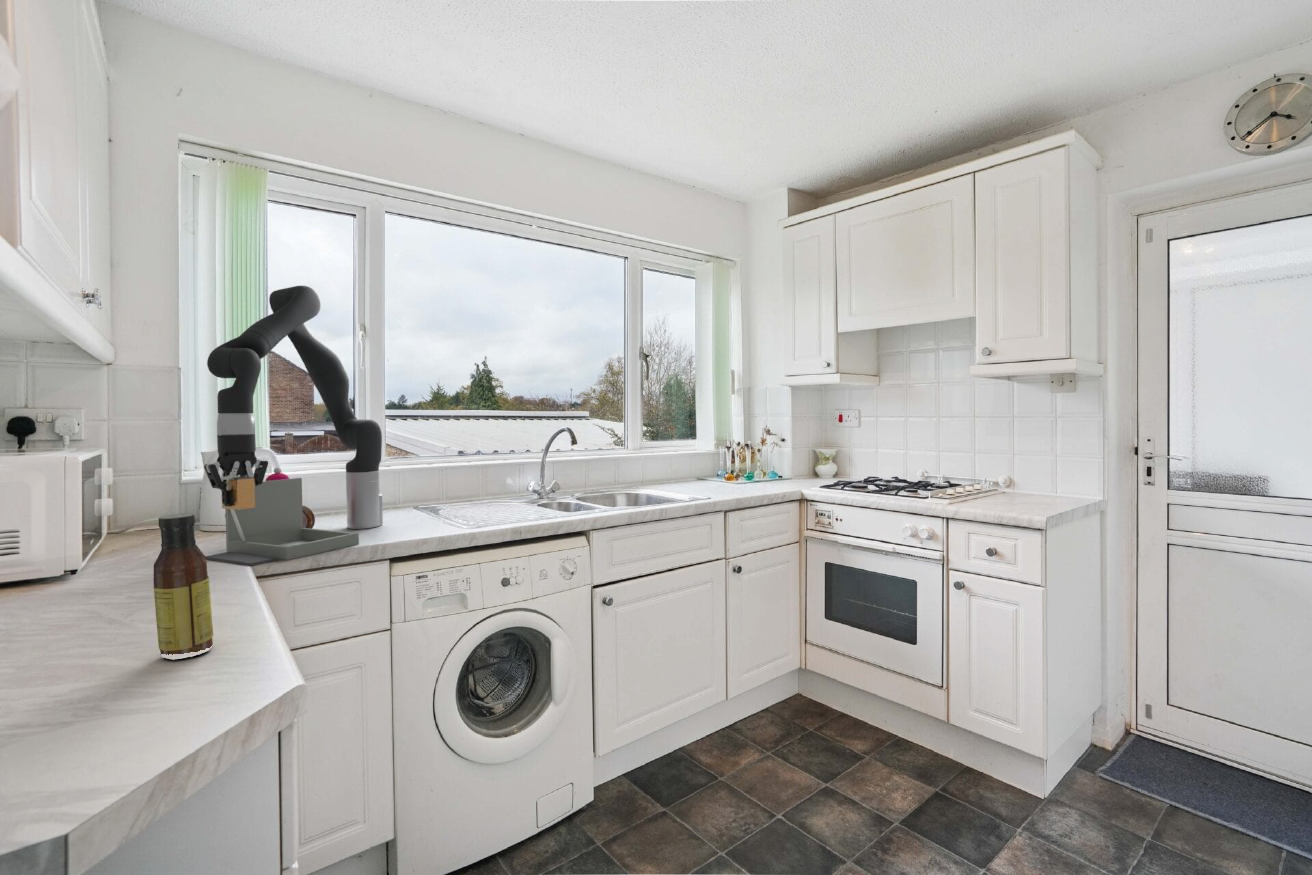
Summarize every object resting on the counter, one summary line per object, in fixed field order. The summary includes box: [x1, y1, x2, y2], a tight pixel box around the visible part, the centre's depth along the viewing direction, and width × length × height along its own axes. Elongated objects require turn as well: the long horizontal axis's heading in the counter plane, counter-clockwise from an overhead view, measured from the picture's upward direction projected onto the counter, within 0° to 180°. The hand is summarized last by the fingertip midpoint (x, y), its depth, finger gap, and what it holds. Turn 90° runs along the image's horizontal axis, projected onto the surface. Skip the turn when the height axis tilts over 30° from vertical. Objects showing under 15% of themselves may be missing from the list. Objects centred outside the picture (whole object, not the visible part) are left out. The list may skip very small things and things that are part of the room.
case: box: [224, 477, 360, 561], centre depth 161 cm, size 20×23×17 cm
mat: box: [205, 551, 278, 567], centre depth 148 cm, size 6×18×1 cm, turn 65°
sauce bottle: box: [152, 512, 214, 655], centre depth 88 cm, size 7×6×20 cm
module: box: [221, 475, 255, 510], centre depth 148 cm, size 4×6×7 cm, turn 65°
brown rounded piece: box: [302, 505, 316, 529], centre depth 182 cm, size 15×3×8 cm, turn 86°
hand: (238, 504), depth 148 cm, fingers closed on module, 4 cm apart
